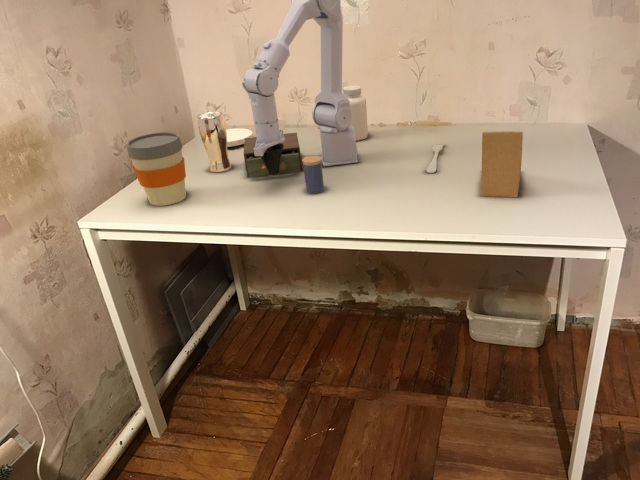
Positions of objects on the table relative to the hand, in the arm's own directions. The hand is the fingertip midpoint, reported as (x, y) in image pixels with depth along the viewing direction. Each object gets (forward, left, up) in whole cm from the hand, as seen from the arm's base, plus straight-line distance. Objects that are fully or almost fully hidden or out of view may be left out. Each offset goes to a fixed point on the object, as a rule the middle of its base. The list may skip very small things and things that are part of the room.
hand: (274, 174), depth 146 cm
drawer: (0, -10, -2) cm, 10 cm away
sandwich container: (-53, +17, -3) cm, 56 cm away
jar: (-9, +6, -3) cm, 12 cm away
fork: (-43, -5, -3) cm, 43 cm away
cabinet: (0, -15, -3) cm, 15 cm away
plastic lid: (+13, -41, -3) cm, 43 cm away
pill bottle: (-25, -32, -3) cm, 41 cm away
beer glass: (+15, -18, -3) cm, 24 cm away
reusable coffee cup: (+27, 0, -3) cm, 27 cm away
